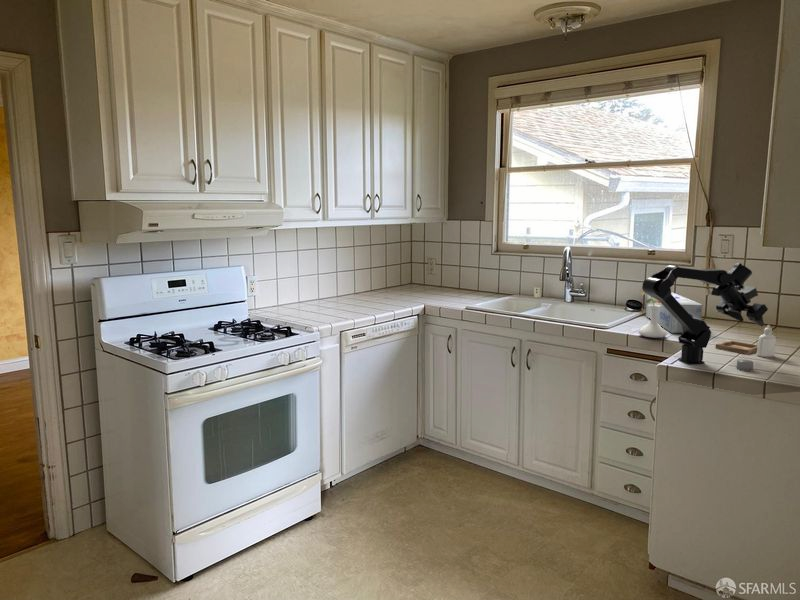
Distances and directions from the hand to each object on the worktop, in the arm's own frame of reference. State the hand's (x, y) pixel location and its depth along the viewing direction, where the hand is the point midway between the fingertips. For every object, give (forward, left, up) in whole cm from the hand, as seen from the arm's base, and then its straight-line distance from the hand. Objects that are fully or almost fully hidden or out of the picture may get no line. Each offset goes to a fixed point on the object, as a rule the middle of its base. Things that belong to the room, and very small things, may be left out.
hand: (752, 323), depth 220 cm
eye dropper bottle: (+7, +1, -13) cm, 15 cm away
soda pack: (+9, +59, -14) cm, 62 cm away
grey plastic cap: (-14, -13, -13) cm, 23 cm away
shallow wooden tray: (+5, +12, -13) cm, 19 cm away
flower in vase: (-16, +39, -13) cm, 44 cm away
